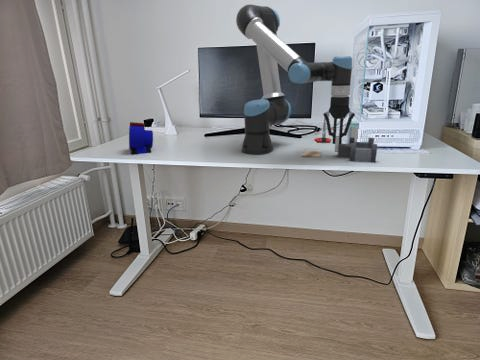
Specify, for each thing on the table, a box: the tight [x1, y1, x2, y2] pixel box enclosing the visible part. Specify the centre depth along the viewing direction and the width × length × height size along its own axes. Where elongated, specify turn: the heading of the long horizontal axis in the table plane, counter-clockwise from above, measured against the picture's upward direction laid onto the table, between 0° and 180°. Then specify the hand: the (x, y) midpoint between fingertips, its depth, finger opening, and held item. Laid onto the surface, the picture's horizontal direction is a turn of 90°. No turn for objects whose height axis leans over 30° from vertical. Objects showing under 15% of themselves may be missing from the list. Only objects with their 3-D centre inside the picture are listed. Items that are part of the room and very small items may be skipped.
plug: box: [337, 143, 351, 159], centre depth 137 cm, size 7×5×5 cm
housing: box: [348, 137, 378, 163], centre depth 135 cm, size 10×14×7 cm
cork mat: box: [301, 150, 322, 159], centre depth 141 cm, size 8×8×1 cm
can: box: [346, 120, 359, 144], centre depth 150 cm, size 7×7×12 cm
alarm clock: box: [128, 121, 154, 156], centre depth 157 cm, size 12×12×15 cm
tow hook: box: [314, 117, 332, 144], centre depth 164 cm, size 8×13×9 cm
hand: (336, 151), depth 138 cm, fingers closed
